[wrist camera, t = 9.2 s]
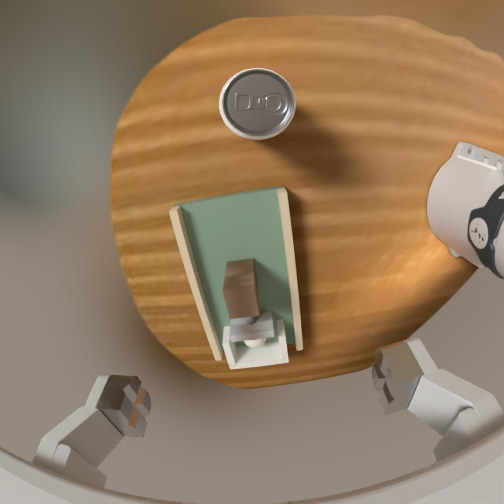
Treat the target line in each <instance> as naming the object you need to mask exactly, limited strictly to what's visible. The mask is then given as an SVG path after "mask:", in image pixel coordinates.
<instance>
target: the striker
mask: <svg viewBox="0 0 504 504" xmlns="http://www.w3.org/2000/svg"><path fill="white" fill-rule="evenodd" d="M223 295H224V299H225V303H226V306H227V310H228V314H229V318H230V319H231V321H230V333H229V337H230V340H231V342H237V341H246V340H254V339H262V338H269V337H274V327H273V318H272V311H265V312H259V298H258V282H257V277H256V271H255V266H254V260H253V258H251V259H244V260H237V261H231V262H227V264H226V271H225V278H224V285H223Z"/></svg>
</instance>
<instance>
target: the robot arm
mask: <svg viewBox="0 0 504 504" xmlns="http://www.w3.org/2000/svg"><path fill="white" fill-rule="evenodd" d="M468 150H469V153H468ZM427 215H428V221H429V225H430V227H431V230H432V231H433V233H434V235H435V236H436V237H437V238H438V239H439V240H441V241H442V242H444V243H445V244H446V245H447V248H448V250H449V252H450V254H451V255H452V256H454V257H459V256H463V257H464V258H466V259H467V260H469V261H470V262H472V263H473V264H475V265H476V266H478V267H479V268H484V267H486V268H487V269H488V270H489V271H490V272H491V273H493V274H494V275H496V276H498V277H499V278H501V279H504V157H503V156H501V155H498V154H496V153H493V152H491V151H488V150H485V149H483V148H480V147H477V146H474V145H471V144H469V143H466V142H459V143H458V144H457V146H456V148H455V150H454V152H453V155H452V157H451V158H450V159H449V160H448V161H447V162H446V163H445V164H444V165H443V166H442V167H441V168H440V170H439V171H438V173H437V174H436V176H435V178H434V180H433V182H432V185H431V187H430V191H429V195H428V202H427ZM375 358H376V360H377V361H376V362H375V363H374V364H373V368H372V379H373V382H374V386H375V388H376V390H377V391H379V392H380V393H381V397H380V402H381V405H382V407H383V410H384V412H385V414H389V413H392V412H396V411H400V410H403V409H406V408H408V410H409V411H410V412H412V413H413V414H414V415H416V416H417V417H418V418H420V419H421V420H422V421H424V422H425V423H426V424H427V425H429V426H430V427H431V428H433V429H434V430H435V431H436V432H438V433H439V434H440V435H442V436H443V437H442V438H441V439H440V441H439V442H438V443H437V445H436V446H435V448H434V449H433V451H434V454H435V457H436V460H437V462H436V463H434V464H431V465H429V466H426V467H424V468H422V469H419V470H417V471H414V472H411V473H409V474H406V475H403V476H401V477H398V478H395V479H392V480H388V481H385V482H382V483H379V484H375V485H372V486H368V487H365V488H361V489H357V490H353V491H349V492H345V493H340V494H335V495H330V496H325V497H320V498H313V499H307V500H299V501H292V502H283V503H272V504H504V413H503V411H502V410H501V408H500V406H499V404H498V403H497V401H496V399H495V398H494V396H493V394H490V393H489V392H487V391H485V390H483V389H481V388H479V387H477V386H475V385H473V384H471V383H469V382H467V381H465V380H463V379H461V378H459V377H458V376H456V375H454V374H452V373H450V372H448V371H446V370H444V369H438V368H437V366H436V364H435V363H434V361H433V360H432V358H431V356H430V355H429V353H428V351H427V350H426V348H425V347H424V345H423V343H422V342H421V340H420V339H419V338H418V337H415V338H412V339H408V340H405V341H401V342H397V343H393V344H390V345H386V346H382V347H379V348H377V349H376V351H375ZM140 385H141V381H140V380H139V378H138V377H137V376H123V375H107V374H101V375H100V376H98V378H97V380H96V382H95V384H94V386H93V389H92V391H91V393H90V395H89V398H88V400H87V402H86V405H85V407H83V406H82V407H80V408H79V409H78V410H76V411H75V412H74V413H73V414H71V415H70V416H69V417H68V418H66V419H65V420H64V421H63V422H61V423H60V424H59V425H57V426H56V427H55V428H54V429H52V430H51V431H50V432H49V433H47V434H46V435H45V436H44V437H43V438H42V440H41V443H40V445H39V448H38V450H37V452H36V455H35V457H34V460H33V462H30V461H27V460H25V459H23V458H21V457H19V456H17V455H15V454H13V453H11V452H9V451H7V450H6V449H4V448H2V447H0V504H194V503H182V502H174V501H166V500H158V499H152V498H146V497H141V496H135V495H131V494H125V493H121V492H117V491H113V490H108V489H105V488H104V486H105V482H106V476H105V474H103V473H102V472H101V471H99V470H98V469H97V467H98V466H99V465H100V463H101V462H102V461H103V460H104V459H105V458H106V457H107V456H108V454H109V453H110V452H111V451H112V450H113V449H114V448H115V447H116V445H117V444H118V443H119V442H120V441H121V440H122V439H123V438H124V436H131V437H144V433H145V429H146V425H147V422H146V420H145V417H146V416H147V415H148V414H149V413H150V410H151V399H150V395H149V393H148V392H147V390H146V389H144V388H143V387H141V386H140ZM270 504H271V503H270Z"/></svg>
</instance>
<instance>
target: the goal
mask: <svg viewBox="0 0 504 504" xmlns="http://www.w3.org/2000/svg"><path fill="white" fill-rule="evenodd" d="M276 322H277V330H278V338H279V341H277V342H270V343H264V344H263V345H262V346H261V347H259V348H251V347H249V346H247V345H246V346H237V347H236V344H235V342H231V340H230V337H229V333H230V326H226V327H224V332H223V342H222V345H223V349H224V352H225V355H226V358H227V361H228V364H229V367H230V369H239V368H248V367H257V366H266V365H273V364H281V363H288V362H289V360H288V352H287V344H286V336H285V330H284V323H283V319H280V320H276Z"/></svg>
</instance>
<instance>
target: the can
mask: <svg viewBox="0 0 504 504" xmlns="http://www.w3.org/2000/svg"><path fill="white" fill-rule="evenodd" d="M219 108H220V113H221V116H222V118H223V120H224V122H225V124H226V125H227V126H228V127H229V128H230V129H231V130H232V131H233V132H234V133H236V134H238V135H239V136H242V137H244V138H247V139H253V140H263V139H268V138H271V137H274V136H276V135H278V134H279V133H281V132H282V131H283V130H285V129H286V127H287V126H288V125H289V124H290V122H291V121H292V119H293V116H294V113H295V109H296V100H295V95H294V92H293V90H292V88H291V86H290V84H289V83H288V82H287V81H286V80H285V79H284V78H283V77H282V76H281V75H279V74H277V73H276V72H273V71H271V70H268V69H263V68H252V69H247V70H244V71H241V72H239V73H237V74H236V75H234V76H233V77H231V78H230V79H229V80H228V82H227V83H226V84H225V86H224V87H223V89H222V92H221V95H220V99H219Z"/></svg>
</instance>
